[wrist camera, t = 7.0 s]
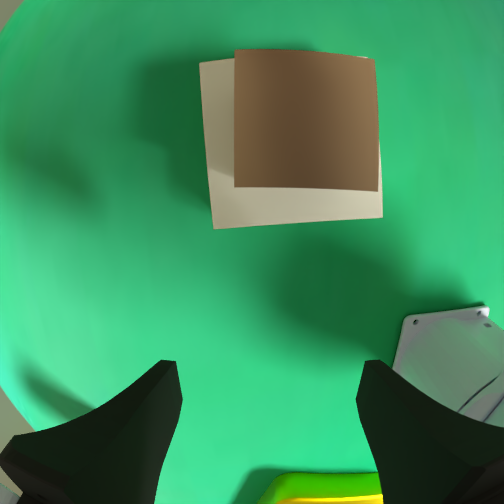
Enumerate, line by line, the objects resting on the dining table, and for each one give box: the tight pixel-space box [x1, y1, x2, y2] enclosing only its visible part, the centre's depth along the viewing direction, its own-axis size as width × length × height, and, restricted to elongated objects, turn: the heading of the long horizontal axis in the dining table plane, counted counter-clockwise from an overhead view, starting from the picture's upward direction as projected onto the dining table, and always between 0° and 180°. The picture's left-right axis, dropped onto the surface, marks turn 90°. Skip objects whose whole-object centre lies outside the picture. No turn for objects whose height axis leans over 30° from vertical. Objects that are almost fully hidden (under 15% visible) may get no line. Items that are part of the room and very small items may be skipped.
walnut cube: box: [234, 49, 379, 192], centre depth 11 cm, size 5×5×5 cm
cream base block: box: [199, 56, 383, 229], centre depth 16 cm, size 9×9×4 cm
